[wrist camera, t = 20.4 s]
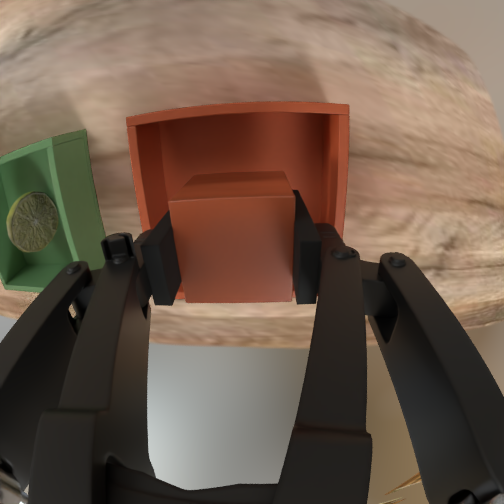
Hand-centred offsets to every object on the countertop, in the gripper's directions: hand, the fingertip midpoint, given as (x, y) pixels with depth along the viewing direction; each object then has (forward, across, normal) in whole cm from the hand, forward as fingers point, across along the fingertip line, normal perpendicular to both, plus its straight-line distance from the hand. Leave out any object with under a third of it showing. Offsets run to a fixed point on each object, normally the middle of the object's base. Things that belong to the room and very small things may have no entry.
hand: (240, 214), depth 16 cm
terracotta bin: (+5, 0, 0) cm, 5 cm away
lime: (+4, -18, 0) cm, 18 cm away
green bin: (+5, -18, 0) cm, 19 cm away
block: (0, 0, 0) cm, 0 cm away
